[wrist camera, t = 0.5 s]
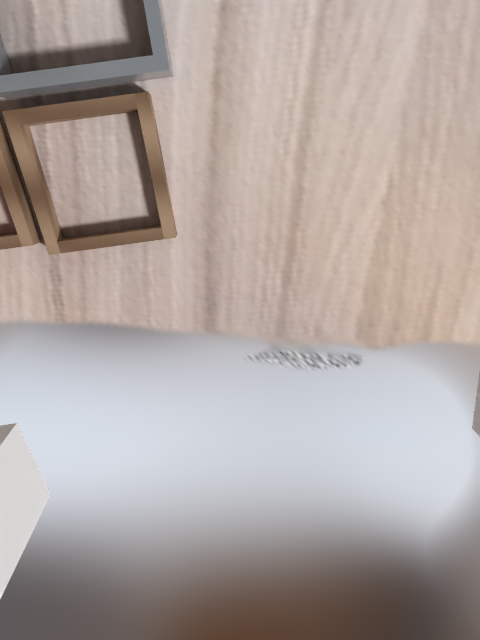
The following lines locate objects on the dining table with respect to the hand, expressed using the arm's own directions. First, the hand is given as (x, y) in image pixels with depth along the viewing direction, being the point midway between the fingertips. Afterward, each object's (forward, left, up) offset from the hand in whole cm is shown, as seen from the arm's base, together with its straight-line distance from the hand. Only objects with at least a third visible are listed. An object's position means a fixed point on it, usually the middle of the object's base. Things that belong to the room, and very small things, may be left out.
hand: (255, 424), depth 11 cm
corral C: (-7, -10, -26) cm, 29 cm away
